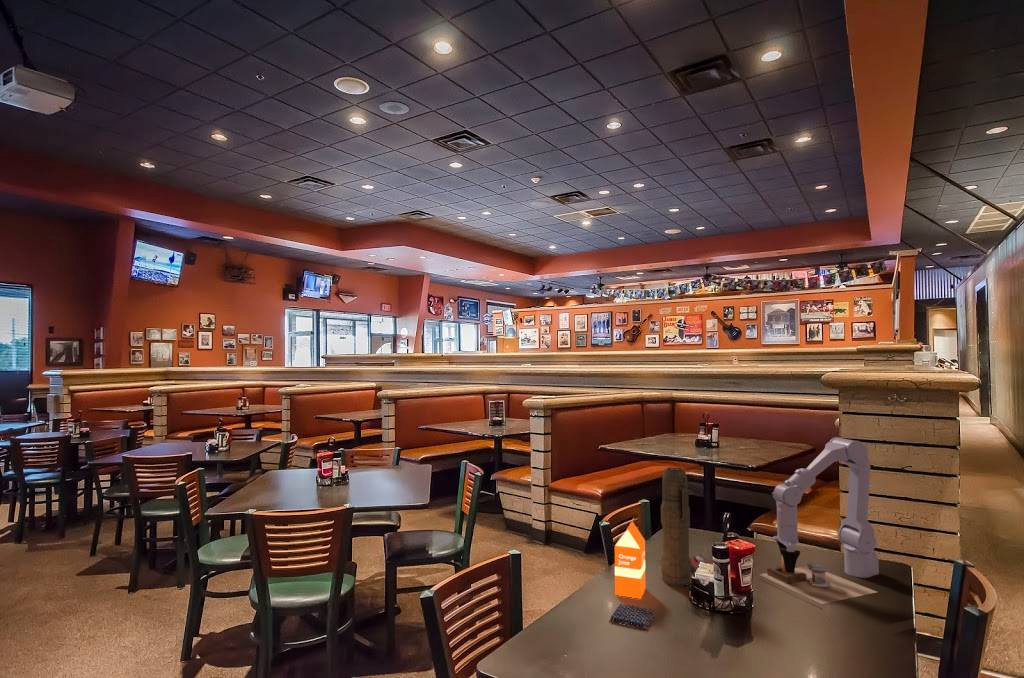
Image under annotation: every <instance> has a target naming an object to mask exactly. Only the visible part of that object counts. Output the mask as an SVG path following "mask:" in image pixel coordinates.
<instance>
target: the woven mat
mask: <svg viewBox="0 0 1024 678" xmlns="http://www.w3.org/2000/svg"><path fill="white" fill-rule="evenodd" d="M627 613H628V614H627ZM653 618H655V611H654V610H653V609H651V608H649V609H648V608H645V607H640V606H635V605H629V604H628V603H626V604H623V603H620V604H618V606H617V607H616V608H615V610H614V611H613V613H612V614H611V615H610V619H609V620H608V621H609V622H610V621H611V622H610V623H612V621H613V622H614V623H613V624H616V623H621V622H622V624H625V625H631V626H634V627H633V628H635V627H636V625H638V626H637V627H638V628H637V629H639V628H641V629H640V630H644V631H645V629H646V631H647V630H648V629H649V626H650V625H651V623H653V621H654V619H653ZM613 619H614V620H613ZM619 621H620V622H619ZM615 622H616V623H615ZM631 623H632V624H631ZM625 625H624V626H625Z"/></svg>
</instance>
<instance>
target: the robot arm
mask: <svg viewBox="0 0 1024 678" xmlns="http://www.w3.org/2000/svg"><path fill="white" fill-rule="evenodd" d="M824 446H825V447H824V449H823V450H822V451H821V452H820V453H819V454H818V456H816V458H814V459H813V461H812V462H810V463H809V465H808V466H807V467H806V468H798V469H796V470H795V471H794V473H793V474H792V475H791V476H790V477H789V478H788V479H786V480H785V481H784V482H783V483H779V484H778V485H776V486H775V487H774V489H773V492H771V494H772V497H773V499H774V500H775V506H776V527H777V529H776V531H777V533H776V534H777V535H774V536H773V537H772V538H773V540H774V541H776V544H777V545H778V548H779V552H780V556H781V558H782V556H783V560H784V565H785V570H786V572H788V573H794V570H795V568H796V565H797V560H798V559H799V556H800V555H801V551H800V550H795V546H797V544H798V543H799V536H798V535H799V534H798V504H800V503H801V502H802V496H803V495H804V494H805V493H806V492H807V490H809V489H810V488H811V487H812V486H813V485H814V484H815V483H816V482H817V481H816V477H817V476H818V475H820V473H823V471H825V470H826V469H827V468H828V467H829V466H831V465H832V464H833V463H835V462H843V463H845V465H846V466H848V468H849V480H848V482H849V483H848V485H849V486H848V496H847V497H848V498H847V499H848V500H847V515H846V517H844V519H842V520H841V525H840V528H839V529H838V536H837V537H838V539H839V541H840V542H842V546H843V548H844V549H843V554H844V555H843V557H844V559H843V560H844V573H845V574H847V575H849V576H852V577H856V578H860V579H861V578H863V579H866V578H871V577H873V576H878V575H879V574H880V573H879V572H880V571H879V570H880V568H879V567H880V566H879V565H880V564H879V556H878V554H877V553H876V551H875V548H876V546H877V539H876V537H875V529H874V527H873V526H872V525H871V523H870V522H869V520H868V518H869V517H868V516H869V499H870V498H869V497H870V480H871V479H870V478H871V462H870V460H869V459H870V458H869V451H868V450H869V448H868V446H866V445H865V444H864V443H863V442H862V441H860V440H853V439H846V438H842V437H839V436H838V437H837V436H835V437H832V438H831V439H830V440H829V441H828V442H827V443H825V445H824Z"/></svg>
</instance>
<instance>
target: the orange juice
mask: <svg viewBox="0 0 1024 678" xmlns="http://www.w3.org/2000/svg"><path fill="white" fill-rule="evenodd" d="M614 586H615V587H614V591H615V593H614V596H615V595H619V596H618V597H620V596H626V597H632V598H631V599H633V598H639V599H641V600H642V598H643V596H644V593H645V591H644V590H646V589H645V588H646V539H645V538H644V537H643V535H642V533H641V532H640V531H639V529H638V527H637V525H636V524H635V523H634V521H633V520H632V521H631V522H630V524H629V526H627V528H626V530H625V531H624V533H623V534H622V536H620V537H619V539H618V540H617V542H616V544H615V545H614ZM642 595H643V596H642ZM626 597H625V598H626ZM641 597H642V598H641ZM639 599H638V600H639Z"/></svg>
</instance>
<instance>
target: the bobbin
mask: <svg viewBox="0 0 1024 678" xmlns="http://www.w3.org/2000/svg"><path fill="white" fill-rule="evenodd" d="M806 566H807V567H808V568H809V569H810V570H812V578H809V579H808V584H809V585H811V586H814V587H818V588H829V587H830V582H829V581H827V580H826V579H825V572H829V573H830V571H831V567H830V566H829V565H828V564H825V563H822V562H815V561H814V562H813V561H812V562H808V563H807V564H806Z"/></svg>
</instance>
